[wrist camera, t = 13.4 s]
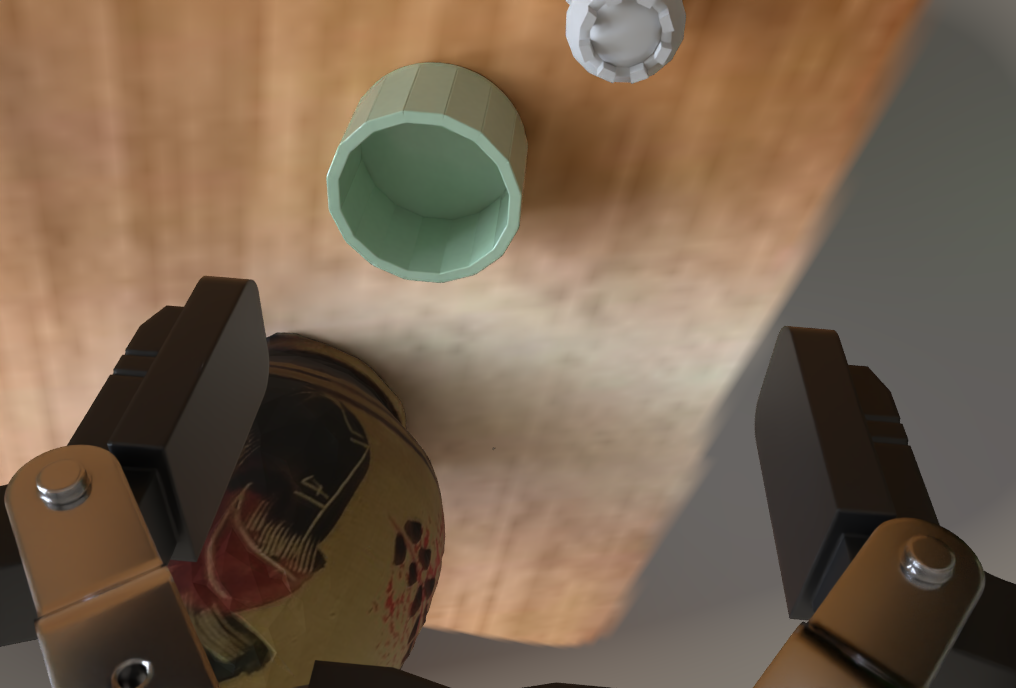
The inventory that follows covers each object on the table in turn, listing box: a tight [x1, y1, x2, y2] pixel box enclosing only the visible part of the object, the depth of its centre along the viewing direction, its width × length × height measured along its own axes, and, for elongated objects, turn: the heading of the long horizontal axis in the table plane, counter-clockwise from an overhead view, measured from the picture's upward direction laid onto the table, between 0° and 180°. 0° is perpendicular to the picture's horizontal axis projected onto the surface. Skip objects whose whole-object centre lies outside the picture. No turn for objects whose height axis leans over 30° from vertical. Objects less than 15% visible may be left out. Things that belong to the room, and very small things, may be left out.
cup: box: [326, 62, 528, 283], centre depth 34 cm, size 7×7×4 cm
